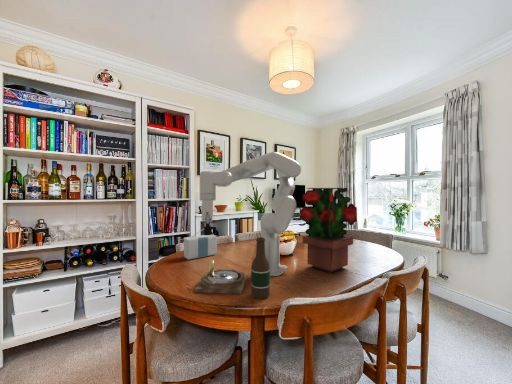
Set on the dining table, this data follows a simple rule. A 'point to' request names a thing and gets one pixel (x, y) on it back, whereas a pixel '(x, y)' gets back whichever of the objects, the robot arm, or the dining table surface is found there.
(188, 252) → the stereo radio cassette player
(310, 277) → the dining table surface
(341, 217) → the potted plant
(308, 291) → the dining table surface
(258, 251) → the beer bottle
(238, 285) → the dial housing
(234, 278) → the dial
